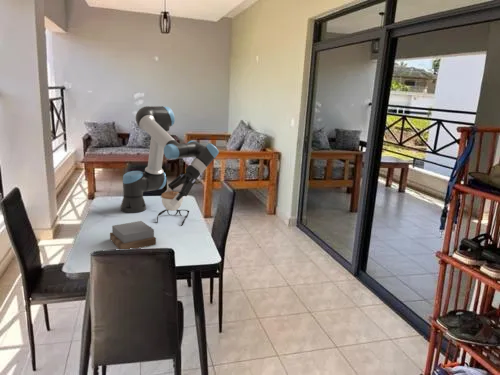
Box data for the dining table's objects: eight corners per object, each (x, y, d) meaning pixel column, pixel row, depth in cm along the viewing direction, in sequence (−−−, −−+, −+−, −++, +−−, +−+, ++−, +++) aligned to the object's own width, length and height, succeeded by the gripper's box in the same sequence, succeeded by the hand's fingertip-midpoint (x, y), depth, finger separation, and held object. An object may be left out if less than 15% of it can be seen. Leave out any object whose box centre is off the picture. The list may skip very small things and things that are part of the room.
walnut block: (110, 240, 194) (110, 232, 193) (143, 234, 204) (143, 227, 203) (121, 252, 181) (120, 244, 180) (155, 245, 191) (155, 238, 190)
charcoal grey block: (112, 233, 193) (112, 225, 192) (141, 228, 202) (141, 220, 201) (123, 243, 182) (123, 235, 181) (153, 237, 191) (153, 229, 190)
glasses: (191, 218, 236) (191, 210, 235) (183, 226, 219) (183, 217, 218) (165, 215, 238) (165, 207, 237) (154, 223, 220) (155, 215, 219)
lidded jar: (162, 212, 192) (162, 194, 190) (160, 205, 202) (160, 188, 200) (184, 211, 195) (184, 193, 193) (181, 205, 205) (181, 188, 203)
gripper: (210, 178, 194) (181, 212, 189) (189, 169, 212) (162, 200, 207) (201, 168, 190) (171, 203, 185) (181, 160, 208) (153, 191, 203)
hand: (167, 201), depth 196 cm, fingers closed on lidded jar, 11 cm apart
